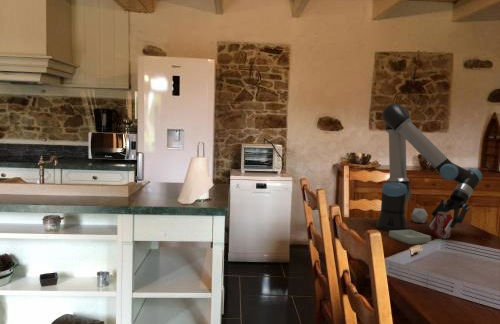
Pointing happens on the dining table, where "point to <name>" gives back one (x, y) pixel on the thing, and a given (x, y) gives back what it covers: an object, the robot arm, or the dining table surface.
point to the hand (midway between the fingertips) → (438, 229)
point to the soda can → (442, 224)
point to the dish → (409, 236)
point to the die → (419, 215)
